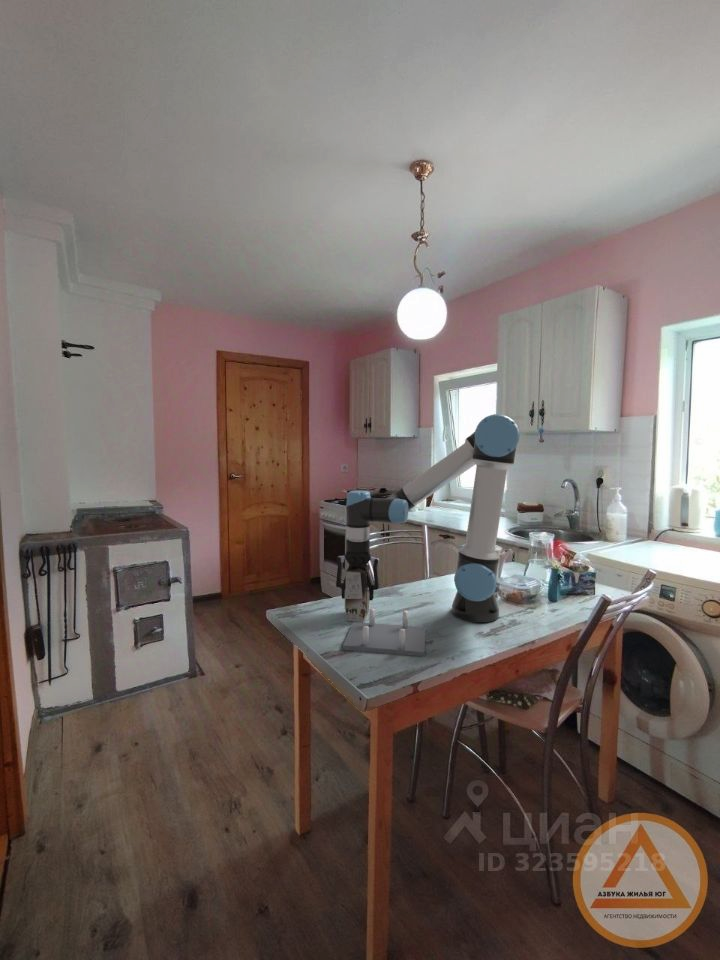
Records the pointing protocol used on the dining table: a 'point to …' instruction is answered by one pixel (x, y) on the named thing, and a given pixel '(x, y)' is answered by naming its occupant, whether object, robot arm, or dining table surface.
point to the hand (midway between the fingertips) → (357, 608)
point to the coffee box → (356, 595)
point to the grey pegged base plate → (386, 637)
